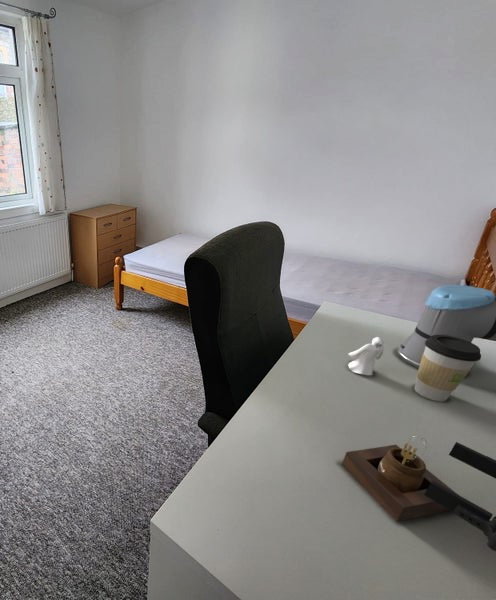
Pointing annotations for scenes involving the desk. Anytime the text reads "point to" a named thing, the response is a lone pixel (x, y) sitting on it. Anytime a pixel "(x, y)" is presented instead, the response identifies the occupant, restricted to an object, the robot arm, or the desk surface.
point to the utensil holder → (403, 468)
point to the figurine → (366, 357)
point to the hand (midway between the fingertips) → (440, 466)
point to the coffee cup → (444, 366)
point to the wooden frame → (391, 485)
